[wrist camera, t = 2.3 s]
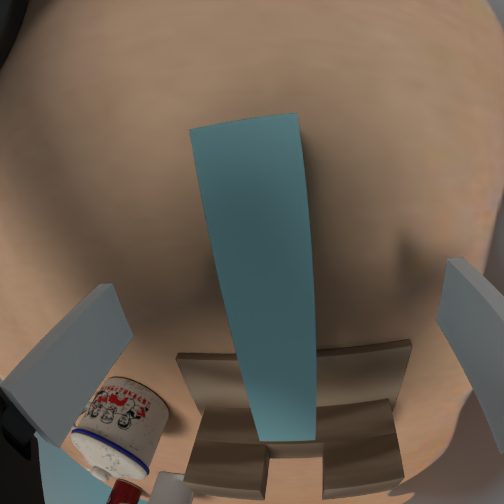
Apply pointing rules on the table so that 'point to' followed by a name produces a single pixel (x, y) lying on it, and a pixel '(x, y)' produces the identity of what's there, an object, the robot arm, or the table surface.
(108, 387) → the teacup with lid
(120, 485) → the soda can
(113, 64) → the table surface
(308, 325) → the teal notched block
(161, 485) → the candle
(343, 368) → the brown stepped fixture
